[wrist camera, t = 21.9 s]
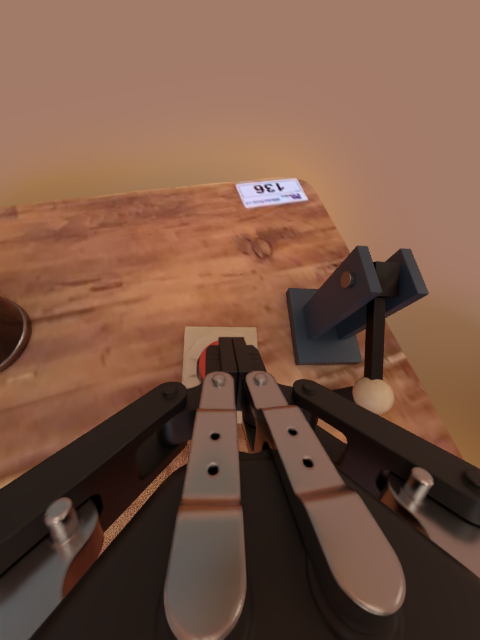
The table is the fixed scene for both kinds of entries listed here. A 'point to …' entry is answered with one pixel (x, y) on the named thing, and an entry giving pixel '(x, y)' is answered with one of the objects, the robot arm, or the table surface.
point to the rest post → (345, 393)
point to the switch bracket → (346, 307)
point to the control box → (199, 340)
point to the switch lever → (377, 344)
